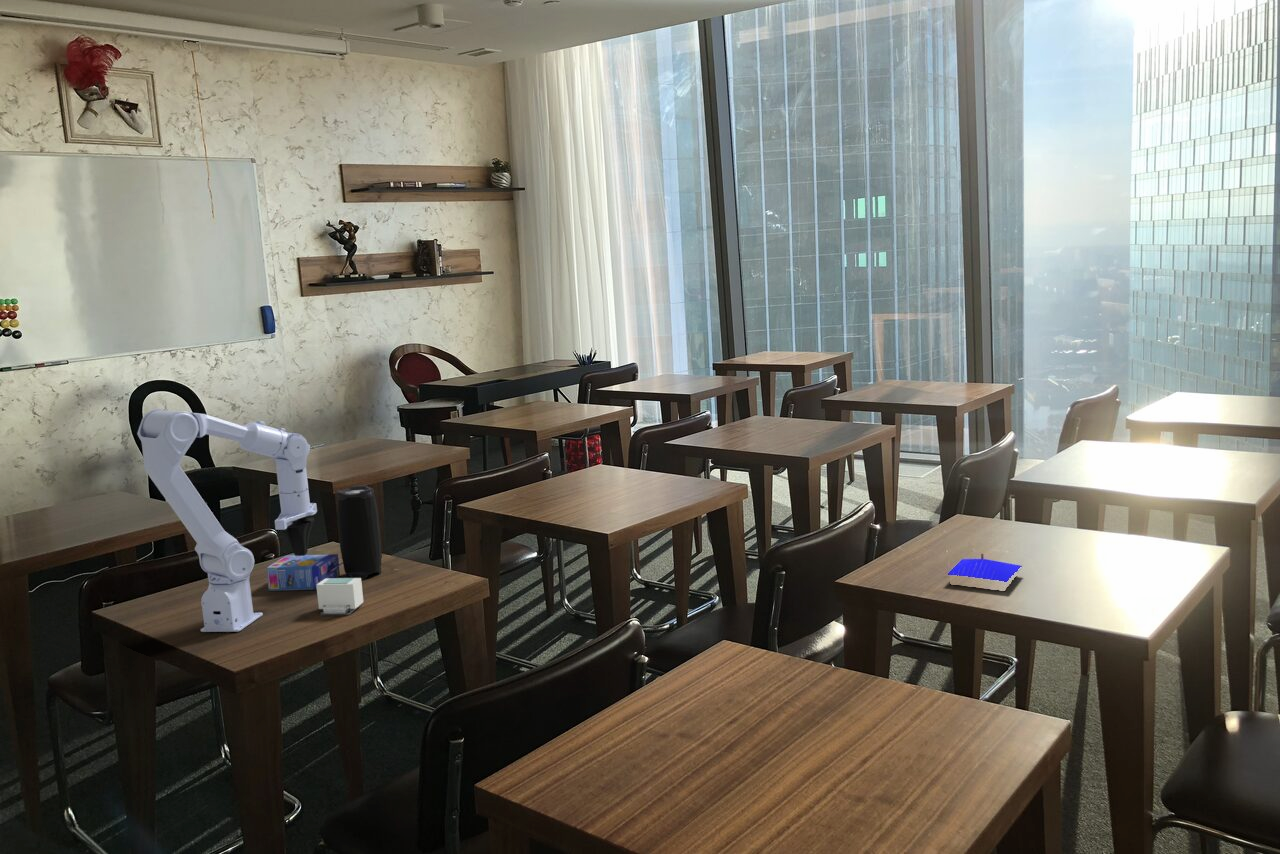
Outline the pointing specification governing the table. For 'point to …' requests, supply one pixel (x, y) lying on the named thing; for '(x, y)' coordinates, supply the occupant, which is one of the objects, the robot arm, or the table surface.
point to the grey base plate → (337, 610)
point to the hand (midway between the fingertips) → (300, 554)
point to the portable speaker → (359, 531)
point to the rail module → (340, 592)
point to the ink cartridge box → (302, 571)
